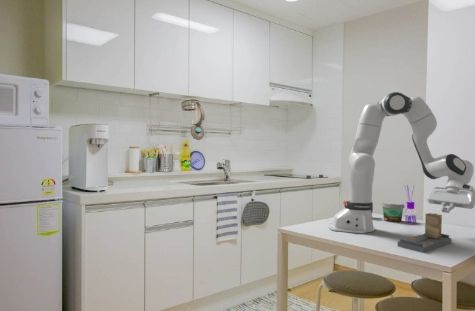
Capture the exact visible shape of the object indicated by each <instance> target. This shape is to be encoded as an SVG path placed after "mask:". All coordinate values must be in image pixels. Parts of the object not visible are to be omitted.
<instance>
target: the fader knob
mask: <svg viewBox="0 0 475 311" xmlns="http://www.w3.org/2000/svg"><path fill="white" fill-rule="evenodd" d="M442 219H443V214H439V213H432V212H428V213H425V222H424V223H425V224H424V234H425V236H427V237H432V238H436V239H437V238H440V237H441V234H442V221H443V220H442Z"/></svg>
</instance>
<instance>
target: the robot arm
mask: <svg viewBox="0 0 475 311" xmlns="http://www.w3.org/2000/svg"><path fill="white" fill-rule="evenodd" d="M361 111H362V112H361V113H360V117H359V120H358V124H357V127H356V128H357V129H356V133H355V138H354V141H353V144H352V147H351V151H350V154H349V159H348V161H347V162H348V167H349V168H350V176H349V177H350V178H349V185H348V200H343V201H342V204H343V205H344V208H343V209H340V211H338V212H336V213H335V214H334V216H333V220H332V222H330V223H328V229H329V230H331V231H335V232H344V233H354V234H366V233H371V232H374V231H375V227H374V222H373V211H374V204H373V202H372V201H373V185H374V184H373V183H374V179H375V178H374V176H375V168H376V167H375V166H376V162H375V159H374V157H373V156H374V153H375V150H376V148H377V145H379V144H378V143H379V139H380V135H381V131H382V126H383V123H384V122H383V121H384V119H385V118H386V117H393V116H394V117H395V116H397V115H400V114H401V115H403V116H404V117H405V118H406V119H407V121H408V122H409V124H410V127H411V130H412V135H411V140H412V142H413V145H414V148H415V150H416V153H417V156H418V158H419V160H420V163H421V167H422V172H423V174H424V175H425V176H426V177H427V178H428V179H430V180H436V179H440V178H443V177H448V179H447V181H446V183H445V186H444V187H439V186H435V187H433V188H431V190H430V191H429V193H428V194H427V196H426V200H427V202H428V203H429V204H432V205H438V206H439V205H440V206H441V212H442V213H446V214H450V212H451V211H452V210H453V209H455V208H462V209H469V210H473V209H474V208H475V188H474V186H473V185H469V183H470V182H471V180H472V178H473V175H474V170H475V168H474V165H473V163H472V161H471V162H470V161H469V160H468V159H462V158H460V156H458V155H456V154H453V153H449V154H445V155H442V156H440V157H439V156H438V157H436V158H434V157H433V155H432V153H431V150H430V148H429V146H428V142H427V141H428V138H429V137H431V135H432V134H433V133H434V132H435V130H436V129H437V126H438V121H437V118H436V116H435V114H434V113H433V111H432V109H431V108H430V107H429V105H428V104H427V103H426V102H425V100H424V99H423V98H422V97H420V96H411V97H409V96H408V95H406V94H403V93H402V92H398V91H397V92H396V91H393V92H391V93H388V94H386V95H384V96H383V97H381V99H380V100H379V101H378V102H377V103H374V102H373V103H368V104H365V106H364V107H363V110H361Z"/></svg>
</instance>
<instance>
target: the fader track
mask: <svg viewBox="0 0 475 311" xmlns="http://www.w3.org/2000/svg"><path fill="white" fill-rule="evenodd" d="M448 244H452V238H451V237H450V235H449V234H445V233H441V237H440V238H437V239H436V238H432V237H427V236H425V233H423V234H420V235H416V236H412V237H409V238H405V239H404V238H400V239H399V240H398V241H397V247H398V248H400V247H401V248H404V249H408V250H410V251H411V250H412V251H416V252H418V253H419V252H420V253H426V252H430V251H431V250H434V249H437V248H440V247H443V246H446V245H448Z"/></svg>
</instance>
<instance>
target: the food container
mask: <svg viewBox="0 0 475 311" xmlns="http://www.w3.org/2000/svg"><path fill="white" fill-rule="evenodd" d="M381 207H382V213H383V214H382V215H383V216H382V217H383V221H384V222H387V223H395V222H398V223H401V222H402V219H403V212H404V209H405V204H404V203H402V204H396V203H386V202H385V203H384V202H382V204H381Z"/></svg>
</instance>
